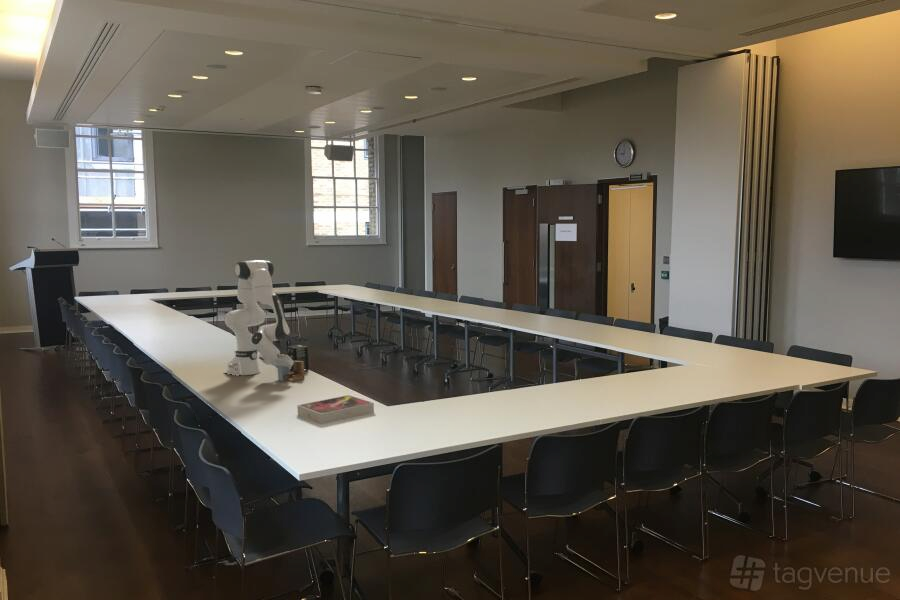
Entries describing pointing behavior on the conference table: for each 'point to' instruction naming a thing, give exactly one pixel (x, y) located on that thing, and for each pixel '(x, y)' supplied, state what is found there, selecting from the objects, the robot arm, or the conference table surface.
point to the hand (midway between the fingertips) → (284, 367)
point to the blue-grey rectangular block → (282, 372)
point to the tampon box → (298, 354)
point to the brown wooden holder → (296, 372)
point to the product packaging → (335, 409)
